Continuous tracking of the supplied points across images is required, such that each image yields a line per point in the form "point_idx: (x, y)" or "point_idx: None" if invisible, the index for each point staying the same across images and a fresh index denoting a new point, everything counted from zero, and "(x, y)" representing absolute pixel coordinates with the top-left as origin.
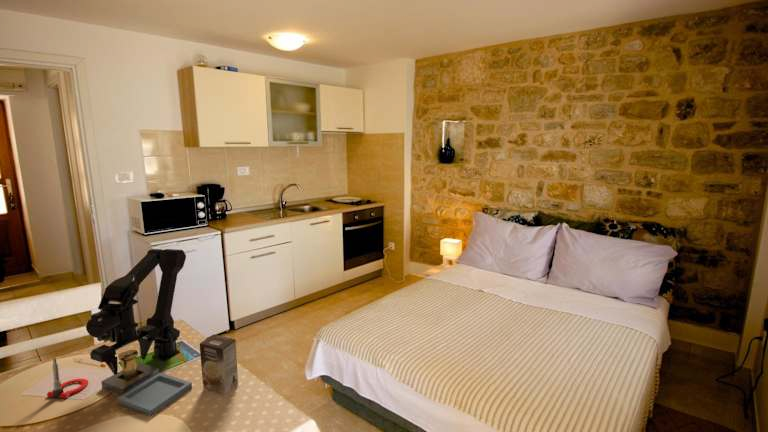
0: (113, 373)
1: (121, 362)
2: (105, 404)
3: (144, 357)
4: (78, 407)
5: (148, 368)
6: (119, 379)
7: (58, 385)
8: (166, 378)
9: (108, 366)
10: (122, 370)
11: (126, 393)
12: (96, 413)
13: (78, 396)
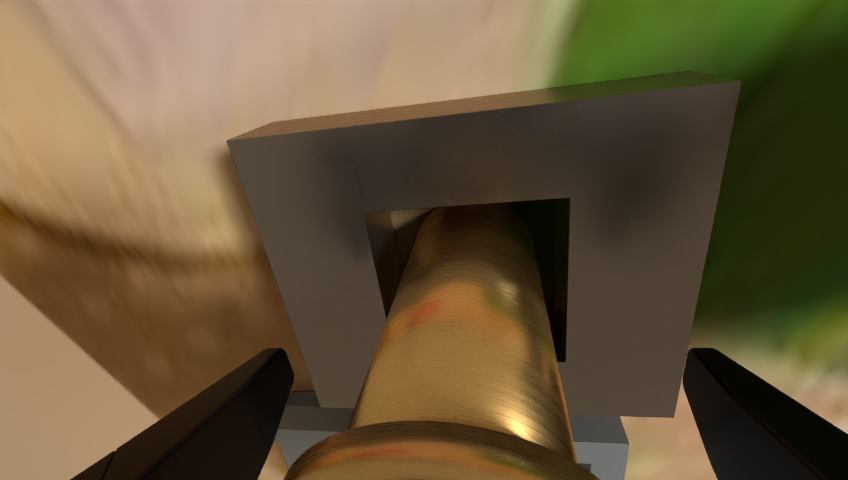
0: (260, 356)
1: (347, 428)
2: (238, 333)
3: (704, 427)
4: (98, 215)
5: (635, 347)
6: (362, 273)
7: None
8: None
9: (126, 447)
10: (386, 320)
11: (327, 437)
12: (183, 361)
13: (95, 50)
